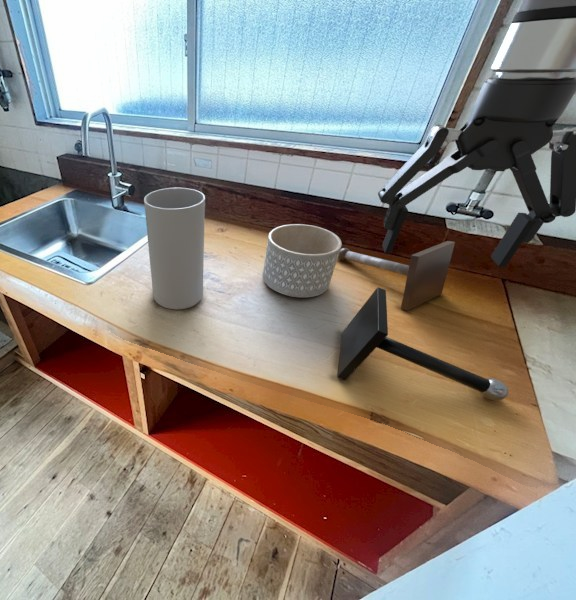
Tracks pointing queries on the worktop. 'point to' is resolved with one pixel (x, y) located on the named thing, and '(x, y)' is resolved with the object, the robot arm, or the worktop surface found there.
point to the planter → (300, 259)
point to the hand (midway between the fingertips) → (439, 255)
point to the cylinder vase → (176, 245)
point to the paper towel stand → (414, 271)
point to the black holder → (400, 349)
